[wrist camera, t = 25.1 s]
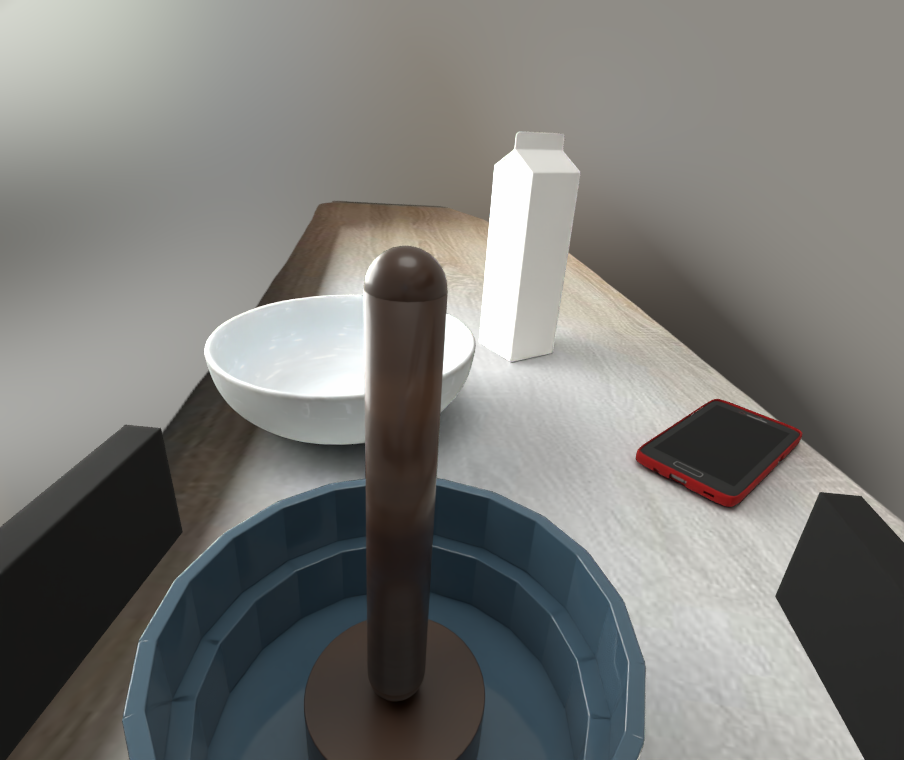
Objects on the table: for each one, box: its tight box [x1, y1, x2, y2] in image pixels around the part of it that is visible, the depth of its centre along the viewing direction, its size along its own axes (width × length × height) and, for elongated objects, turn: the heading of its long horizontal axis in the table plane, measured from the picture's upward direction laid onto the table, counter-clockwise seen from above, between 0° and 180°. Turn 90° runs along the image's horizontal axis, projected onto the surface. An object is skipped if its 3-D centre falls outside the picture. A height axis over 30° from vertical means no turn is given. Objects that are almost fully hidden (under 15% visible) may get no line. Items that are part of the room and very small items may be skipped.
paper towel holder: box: [304, 246, 485, 760], centre depth 18 cm, size 7×7×20 cm
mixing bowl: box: [122, 478, 646, 760], centre depth 22 cm, size 17×17×7 cm
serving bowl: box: [204, 295, 476, 445], centre depth 46 cm, size 21×21×7 cm
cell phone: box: [636, 399, 802, 507], centre depth 44 cm, size 8×15×1 cm, turn 133°
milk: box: [479, 132, 580, 362], centre depth 57 cm, size 6×6×22 cm
